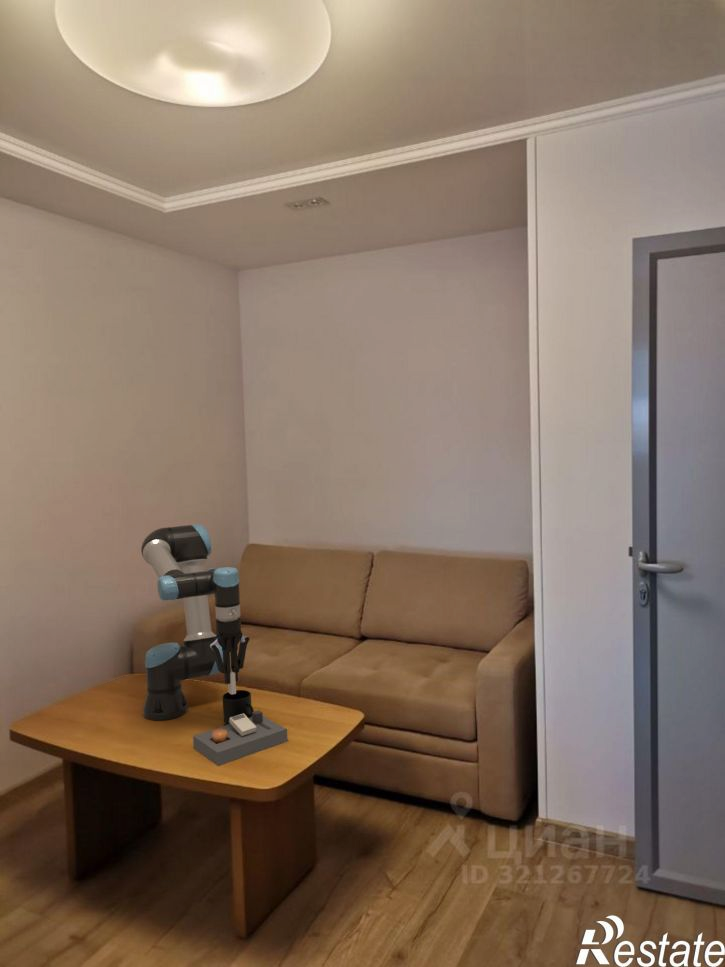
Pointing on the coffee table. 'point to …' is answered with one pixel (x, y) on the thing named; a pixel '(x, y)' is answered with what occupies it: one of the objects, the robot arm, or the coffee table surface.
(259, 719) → the slider
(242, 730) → the rocker
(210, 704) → the coffee table surface
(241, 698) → the mug
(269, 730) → the panel
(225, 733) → the button
